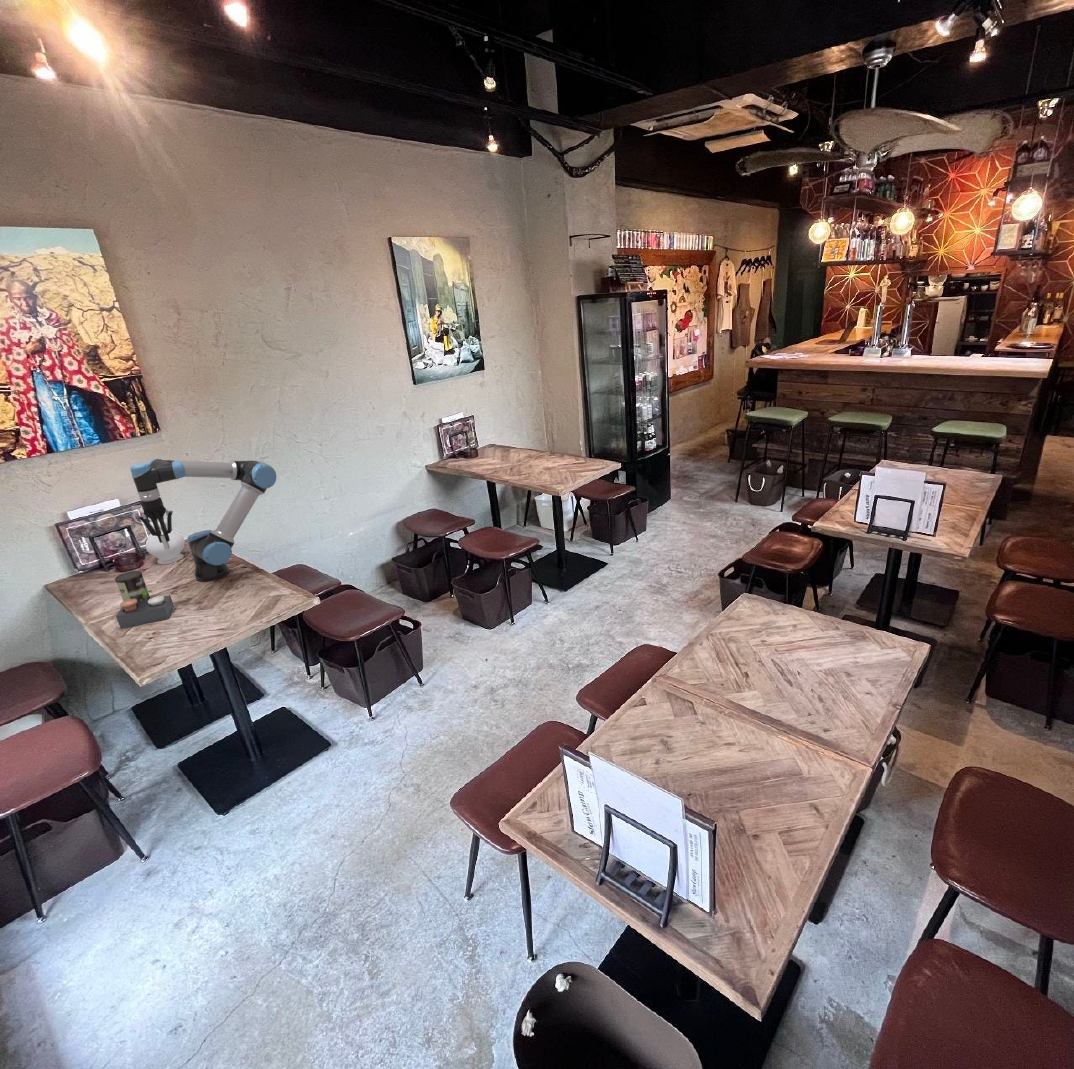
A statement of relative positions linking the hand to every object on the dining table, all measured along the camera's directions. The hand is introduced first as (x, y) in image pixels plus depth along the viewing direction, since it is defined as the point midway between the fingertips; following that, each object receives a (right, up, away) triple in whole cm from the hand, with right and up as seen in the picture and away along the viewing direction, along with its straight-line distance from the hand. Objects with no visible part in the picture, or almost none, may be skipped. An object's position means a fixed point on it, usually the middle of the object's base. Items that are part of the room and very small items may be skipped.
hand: (167, 548), depth 260 cm
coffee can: (-17, -26, +6) cm, 31 cm away
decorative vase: (-33, -7, +54) cm, 64 cm away
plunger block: (-3, -30, -8) cm, 31 cm away
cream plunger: (+2, -28, -7) cm, 29 cm away
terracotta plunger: (-8, -29, -11) cm, 32 cm away
